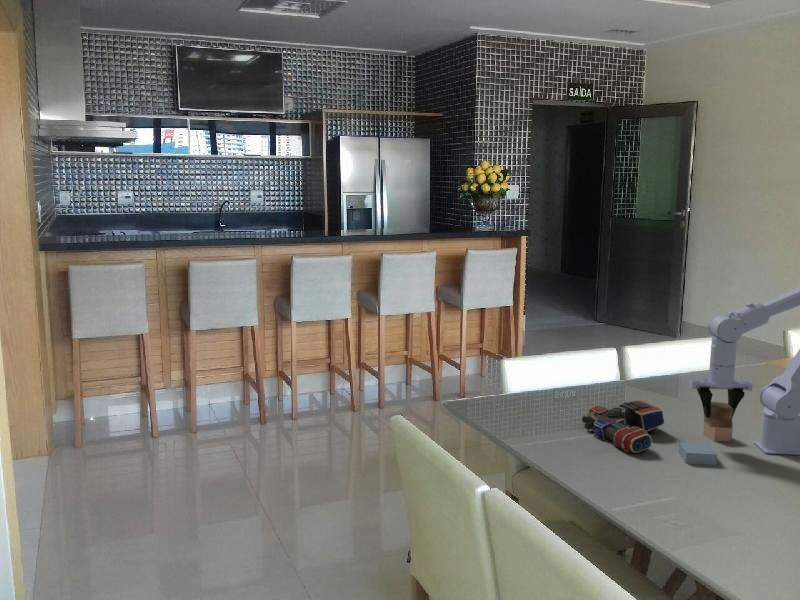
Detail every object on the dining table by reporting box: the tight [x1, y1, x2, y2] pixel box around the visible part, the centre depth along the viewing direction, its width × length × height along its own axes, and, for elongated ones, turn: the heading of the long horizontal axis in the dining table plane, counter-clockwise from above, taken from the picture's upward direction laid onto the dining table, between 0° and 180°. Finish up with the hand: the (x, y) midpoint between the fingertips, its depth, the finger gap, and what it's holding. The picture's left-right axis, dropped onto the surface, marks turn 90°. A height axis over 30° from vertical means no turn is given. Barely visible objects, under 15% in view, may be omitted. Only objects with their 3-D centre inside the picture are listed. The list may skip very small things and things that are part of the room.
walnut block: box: [703, 401, 734, 428], centre depth 179 cm, size 5×5×5 cm
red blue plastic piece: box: [581, 399, 665, 454], centre depth 189 cm, size 8×25×20 cm
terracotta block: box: [702, 420, 734, 442], centre depth 188 cm, size 5×5×5 cm
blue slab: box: [678, 442, 718, 466], centre depth 173 cm, size 7×7×3 cm
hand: (718, 416), depth 179 cm, fingers closed on walnut block, 5 cm apart
